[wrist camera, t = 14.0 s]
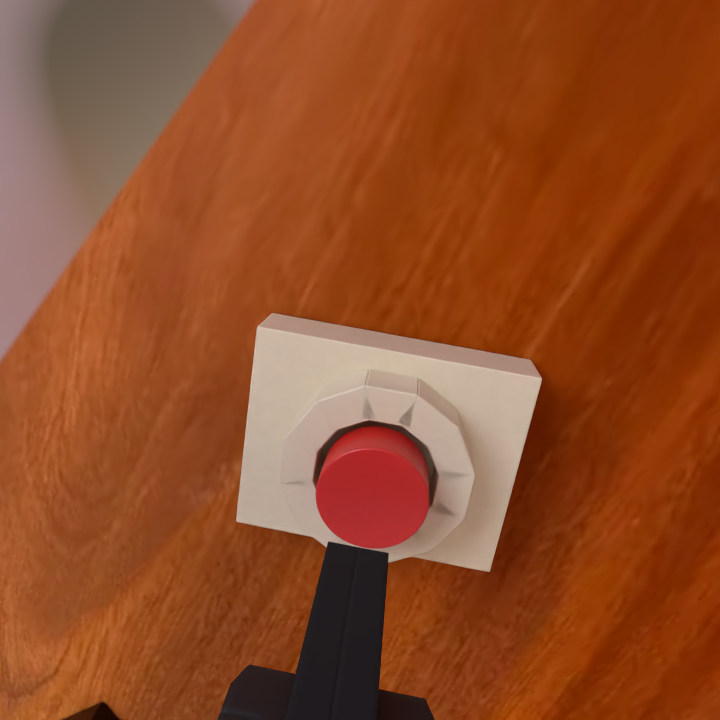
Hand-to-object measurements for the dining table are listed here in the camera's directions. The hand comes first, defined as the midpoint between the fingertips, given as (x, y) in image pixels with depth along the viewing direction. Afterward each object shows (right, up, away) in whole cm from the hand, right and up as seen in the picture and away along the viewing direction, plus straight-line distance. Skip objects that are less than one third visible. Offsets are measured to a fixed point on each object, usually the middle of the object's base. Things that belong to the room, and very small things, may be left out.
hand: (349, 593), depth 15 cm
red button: (+1, +2, +6) cm, 6 cm away
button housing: (+1, +3, +9) cm, 10 cm away
